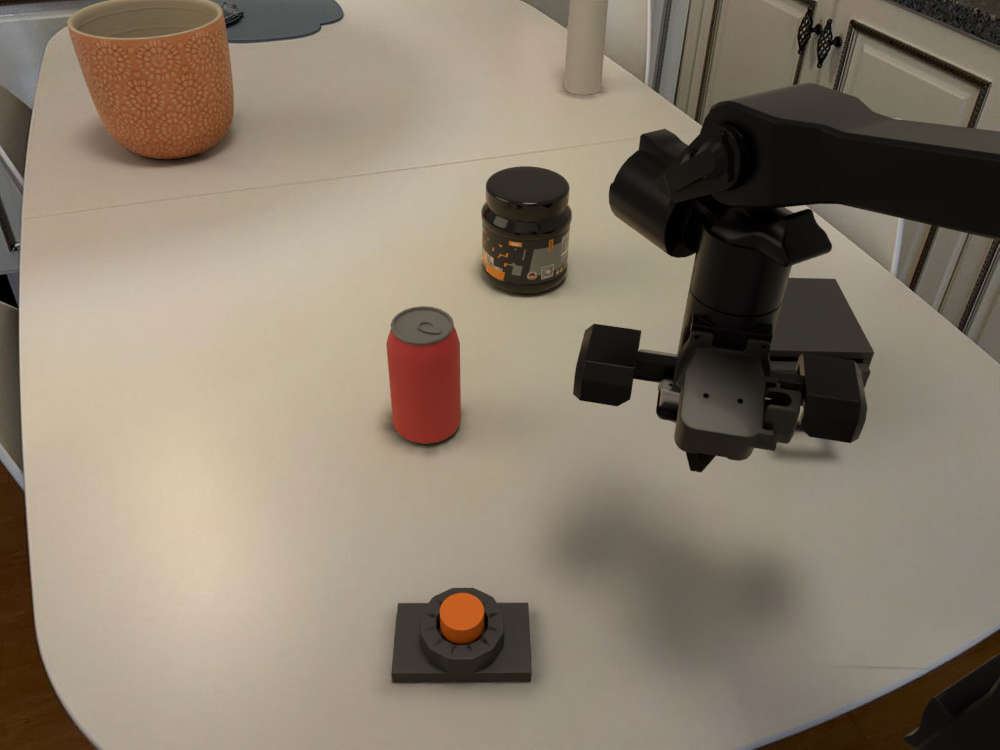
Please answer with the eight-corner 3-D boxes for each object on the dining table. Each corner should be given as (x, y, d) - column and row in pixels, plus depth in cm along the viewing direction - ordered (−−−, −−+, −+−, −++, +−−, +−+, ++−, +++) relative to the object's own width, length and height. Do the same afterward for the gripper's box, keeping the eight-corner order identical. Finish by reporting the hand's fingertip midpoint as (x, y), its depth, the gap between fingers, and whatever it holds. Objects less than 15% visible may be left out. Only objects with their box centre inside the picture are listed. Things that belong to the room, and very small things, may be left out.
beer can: (434, 457, 79) (429, 355, 72) (379, 430, 82) (369, 328, 74) (474, 417, 84) (474, 317, 76) (420, 393, 86) (415, 294, 79)
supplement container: (471, 257, 107) (471, 168, 99) (551, 246, 109) (556, 159, 102) (494, 303, 99) (495, 211, 92) (579, 291, 101) (587, 199, 94)
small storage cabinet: (849, 421, 84) (874, 352, 79) (731, 418, 84) (748, 349, 79) (814, 344, 94) (835, 278, 88) (709, 342, 94) (723, 275, 89)
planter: (120, 185, 121) (81, 48, 109) (92, 132, 134) (55, 5, 122) (263, 155, 129) (241, 24, 117) (223, 108, 143) (200, -13, 131)
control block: (527, 611, 66) (529, 587, 64) (531, 682, 62) (532, 658, 60) (398, 611, 66) (396, 587, 64) (392, 683, 61) (389, 659, 59)
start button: (484, 606, 64) (484, 592, 62) (484, 644, 61) (484, 630, 60) (441, 607, 63) (440, 592, 62) (439, 644, 61) (438, 630, 60)
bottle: (605, 84, 154) (621, -89, 136) (595, 97, 149) (610, -81, 131) (570, 79, 156) (581, -93, 138) (559, 91, 151) (569, -85, 133)
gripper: (567, 344, 49) (552, 526, 59) (911, 395, 46) (835, 578, 56) (594, 247, 57) (577, 420, 67) (886, 285, 54) (823, 460, 64)
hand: (695, 467), depth 63 cm, fingers closed
